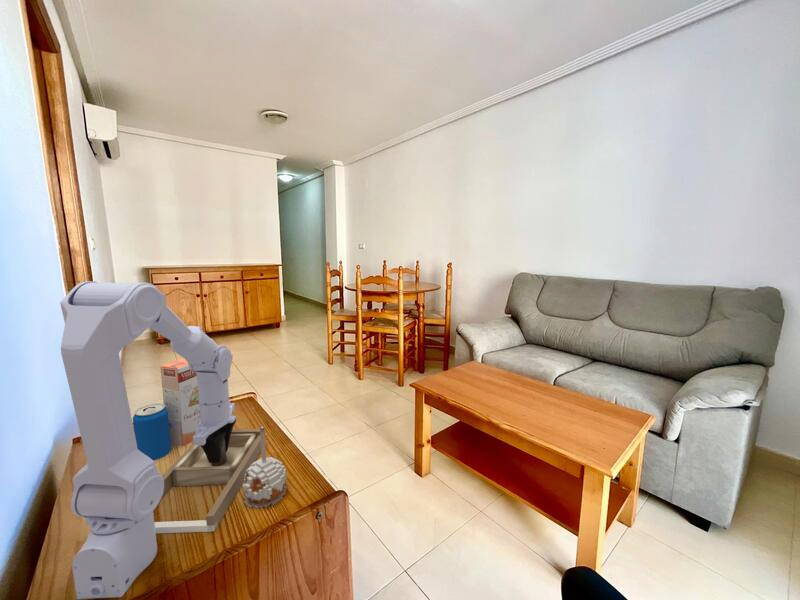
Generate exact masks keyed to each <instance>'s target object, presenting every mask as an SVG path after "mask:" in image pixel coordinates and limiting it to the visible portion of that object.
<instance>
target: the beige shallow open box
mask: <svg viewBox="0 0 800 600" xmlns="http://www.w3.org/2000/svg"><path fill="white" fill-rule="evenodd" d="M256 438H257V435H256V433H251V434H231V436H230V441H229V446H228V450H227V452H226V446H225V438H223V442H222V448H221V459H220V461H219V462H218V463H209V461H208V459H207V457H206V454H205V452H204V450H203V449H202V447H201V446H194V447H193V448H192V449H191V450H190V451H189V452H188V453H187V454H186V456H185V457H184V458H183V459H182V460H181V461H180V462H179V463H178V464H177V465H176V466H175V467H174V468H173V469H172V476H173V486H172V487H184V486H185V487H187V486H188V487H189V486H222V485H224V486H226V485H227V483H228V481H229V480H230V478H231V477H232V475H233V474H234V472H235V471H236V469H237V468H238V466H239V464H240V463H241V461H242V460H243V458H244V457H245V455H246V454H247V452H248V450H249V449H250V447H251V446H252V444H253V443H254V441H255V440H256Z"/></svg>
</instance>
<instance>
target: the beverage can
mask: <svg viewBox="0 0 800 600" xmlns="http://www.w3.org/2000/svg"><path fill="white" fill-rule="evenodd" d="M132 423H133V428H134V433H135V438H136V443H137V448H138V450H139V451H141V452H142V453H144V454H145V455H146V456H148V457H149V458H151V459H152V460H153V461H154V462H155V461H157V460H160V459H162V458H163V457H165V456H167V455H169V453H170V452H171V451H172V444H171V440H170V429H169V419H168V410H167V408H165V405H164V403H149V404H145V405H143V406H140V407H139V408H137V409H135V411H134V414H133V416H132Z"/></svg>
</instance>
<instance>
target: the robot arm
mask: <svg viewBox="0 0 800 600" xmlns="http://www.w3.org/2000/svg"><path fill="white" fill-rule="evenodd" d="M59 303H60V308H61V312H62V316H63V320H64V321H63V322H64V329H63V333H62V338H61V344H60V355H61V358H62V362H63V367H64V370H65V376H66V379H67V383H68V388H69V392H70V397H71V399H72V404H73V405H72V406H73V408H74V413H75V417H76V421H77V426H78V430H79V433H80V438H81V442H82V447H83V451H84V453H85V454H84V455H85V458H86V459H85V460H86V462H87V464H85V465H84V466H82V468H81V469H79V471H78V472H77V473H76V474H75V475H74V476H73V477H72V479H71V480H72V483H73V493H72V497H71V502H70V506H71V512H72V513H73V514H74V516H77V517H81V518H84V521H85V525H86V526H87V525H88V527H89V533H88V535H87V538H86V541H85V542H84V544H83V545H82V547H81V548H80V549H79V551H78V552H77V553H76V554H75V556H74V558H73V559H72V563H71V570H72V575H73V583H74V589H75V595H76V600H86V599H87V600H88V599H107V598H112V599H113V598H121V597H122V598H123V596H124V595H125V593H126V592H127V591H128V589H129V588H130V586H131V585H132V584H133V582H134V581H135V580H136V579H137V577H138V576H139V575H140V574H141V573H143V571H144V570H146V568H147V567H149V566H150V565H151V564H152V562H153V561H154V559H155V558H156V555H157V553H158V543H157V534H156V532H155V523H154V522H155V515H154V510H155V509H156V508H157V506H158V505H159V503H160V501H161V499H162V498H163V497H162V495H163V491H164V478H163V476H162V474H161V472H160V471H158V469H157V466H156V462H155V460H154V461H153V460H152V459H151V458H149V457H148V456H146V455H145V454H144V453H142V452H141V451H139V450H138V448H137V443H136V438H135V433H134V425H133V417H132V414H131V408H130V403H129V399H128V398H129V397H128V392H127V388H126V383H125V378H124V372H123V369H122V363H121V358H120V352H121V350H122V349H123V348H124V347H125V346H127V345H130V344H132V343H133V342H134V341H135V340H136V339H137V338H138V337H140V336H141V335H142V334H143V333H144V332H146V330H147V329H149V328H150V329H151V330H153V331H154V332H156V333H157V334H159V335H161V336H162V337H164V338H166V339H167V340H169V341H170V342H169V343H170V348H171V350H172V351H173V352H175V353H176V354H177V355H179V356H180V357H181V358H184V359H186V361H187V362H188V366H189V369H190V370H191V371H194V372H197V385H198V397H199V409H200V421H199V424H198V428H197V431H196V433H195V435H194V436H193V441H192V444H193V445H194V446H201V447H202V449H203V450H204V452H205V454H206V457H207V459H208V461H209V463H218V462H219V461H220V459H221V448H222V442H223V438H225V446H226V452H227V450H228V446H229V441H230V436H231V432H232V429H233V428H234V427H235V425H236V422H237V416H236V415H233V413H234V412H235V410H236V405H235V404H236V403H235V402H230V393H229V392H230V391H229V390H230V389H229V378H230V376H231V366H232V364H233V363H232V362H233V359H234V357H233V354H232V352H231V349H229V348H228V347H227V346H226V345H219V344H218V343H216V342H215V340H214V339H213V338H210V336H209V335H207V333H205V332H204V329H203V328H202V327H201V326H196V325H195V326H194V325H188V326H187V325H186V323H185V322H183V320H181V318H180V317H179V316H178V315H177V314H176V313H175V312H174V311H173V310H172V309H171V308H170V307H169V305H167V296H166V294H165V293H163V292H161V291H160V289H158V288H157V287H156V285H154V284H152V283H151V282H150V283H149V282H138V283H137V282H136V283H133V282H132V283H131V282H130V283H129V282H97V281H92V280H91V281H89V280H88V281H83V282H80V283H78V284H76V285H75V286H74V287H73V288H72V289H71V290H70V291H69V292H68V293H67V294H66V295H65V296H64V298H62V300H61V301H60V302H59ZM161 497H162V498H161Z"/></svg>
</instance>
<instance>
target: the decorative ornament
mask: <svg viewBox="0 0 800 600" xmlns="http://www.w3.org/2000/svg"><path fill="white" fill-rule="evenodd" d="M259 429H260V435H261V452H260V453H261V458H259V459H256V461H255V462H253V464H251V466H250V467H249V468H248V469H247V470H246V474H245V479H244V481H243V483H242V491H243V492H244V496H243V499H244V500H245V501H243V503H244V505H246V506H247V507H249V508H250V509H251V508H252V507H253V508H255V509H259V508H260V509H263V508H267V507H268V506H270V505H271V506H274V505H276V504H277V503H278V502H280V501H281V500H283V496H285V495H286V494H287V493H286V492H287V489H288V488H287V486H286V485H287V480H288V479H287V469H286V466H285V465H283V462H282V461H280V460H279V459H277V458H274V457H272V456H269V457H267V452H266V448H267V447H266V428H265V426H261V427H260V428H259Z"/></svg>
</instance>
